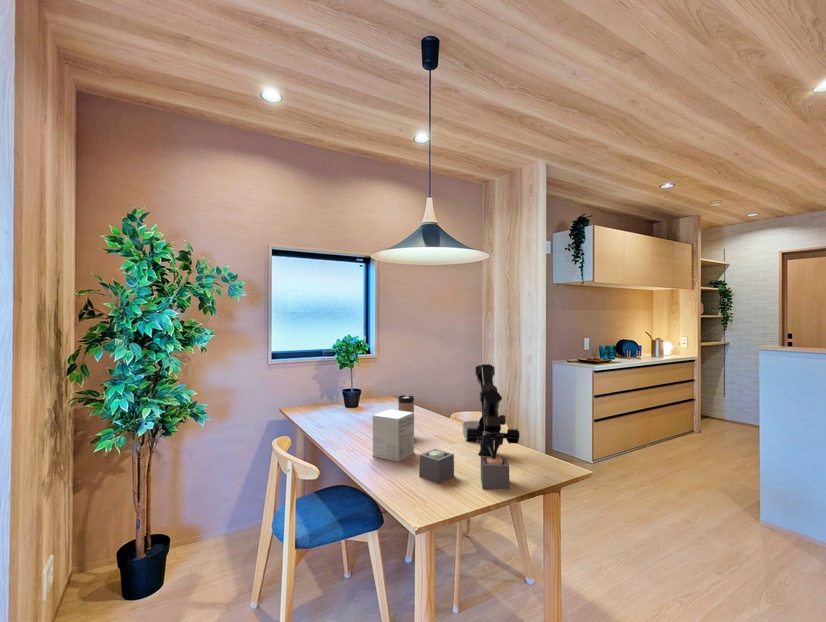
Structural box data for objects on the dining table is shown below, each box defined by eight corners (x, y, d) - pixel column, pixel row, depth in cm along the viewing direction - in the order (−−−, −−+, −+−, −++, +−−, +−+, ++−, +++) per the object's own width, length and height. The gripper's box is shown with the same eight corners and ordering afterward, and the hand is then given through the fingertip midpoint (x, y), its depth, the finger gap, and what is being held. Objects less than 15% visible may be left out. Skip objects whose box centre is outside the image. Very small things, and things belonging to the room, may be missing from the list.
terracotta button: (485, 464, 146) (485, 456, 146) (501, 465, 145) (501, 456, 145) (487, 470, 140) (487, 461, 140) (503, 470, 140) (503, 462, 140)
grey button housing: (435, 469, 156) (435, 448, 156) (454, 476, 150) (453, 454, 150) (419, 476, 150) (419, 454, 150) (438, 483, 143) (438, 460, 143)
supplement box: (415, 452, 176) (414, 412, 176) (398, 462, 164) (398, 418, 165) (389, 448, 183) (389, 408, 183) (371, 456, 171) (371, 414, 171)
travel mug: (404, 441, 192) (404, 398, 192) (395, 437, 198) (395, 396, 198) (417, 438, 196) (417, 396, 196) (408, 434, 202) (407, 394, 203)
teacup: (480, 444, 187) (480, 427, 187) (458, 441, 192) (458, 424, 192) (490, 436, 199) (490, 420, 199) (469, 433, 204) (469, 417, 204)
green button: (435, 457, 154) (435, 449, 154) (447, 461, 150) (447, 453, 150) (425, 461, 150) (425, 453, 150) (437, 465, 146) (437, 456, 146)
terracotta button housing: (480, 478, 148) (480, 456, 148) (506, 479, 147) (505, 456, 147) (482, 488, 139) (482, 465, 139) (509, 489, 138) (509, 466, 138)
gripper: (466, 406, 150) (468, 445, 139) (518, 407, 148) (524, 447, 137) (466, 422, 157) (467, 461, 146) (515, 423, 156) (520, 462, 144)
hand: (494, 457), depth 143 cm, fingers closed
